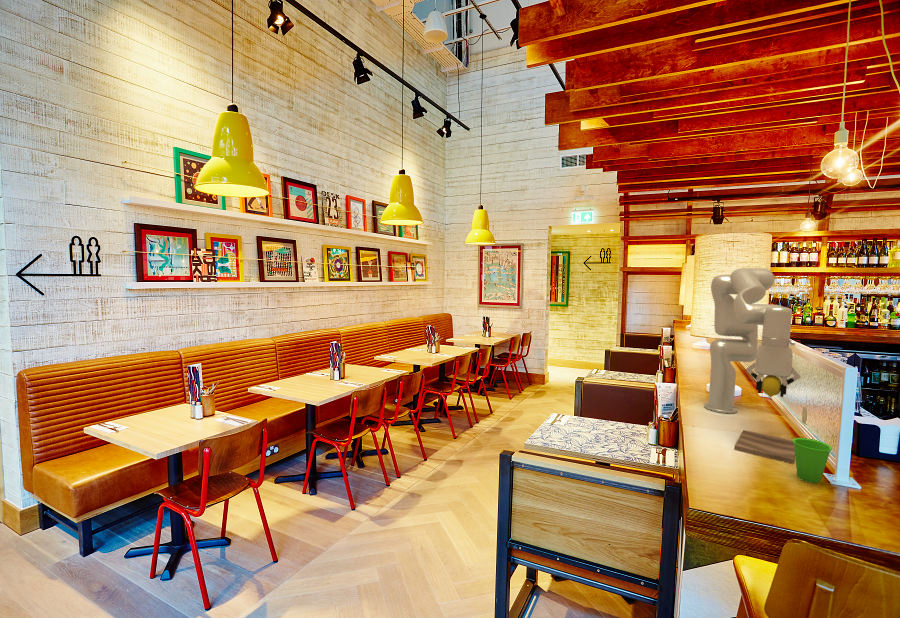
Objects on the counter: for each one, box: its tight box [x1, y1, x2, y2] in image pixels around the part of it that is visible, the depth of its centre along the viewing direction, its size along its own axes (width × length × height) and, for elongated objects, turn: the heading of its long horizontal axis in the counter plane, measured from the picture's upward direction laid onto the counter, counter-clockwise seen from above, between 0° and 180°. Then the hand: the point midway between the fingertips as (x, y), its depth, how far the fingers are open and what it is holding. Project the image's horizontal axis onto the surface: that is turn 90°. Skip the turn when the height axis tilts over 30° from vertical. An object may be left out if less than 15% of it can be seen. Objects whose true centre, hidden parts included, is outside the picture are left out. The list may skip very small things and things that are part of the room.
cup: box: [791, 437, 833, 484], centre depth 126 cm, size 9×9×11 cm
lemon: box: [761, 375, 782, 398], centre depth 148 cm, size 6×6×8 cm
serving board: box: [734, 429, 796, 465], centre depth 149 cm, size 20×16×2 cm
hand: (770, 393), depth 148 cm, fingers closed on lemon, 5 cm apart
